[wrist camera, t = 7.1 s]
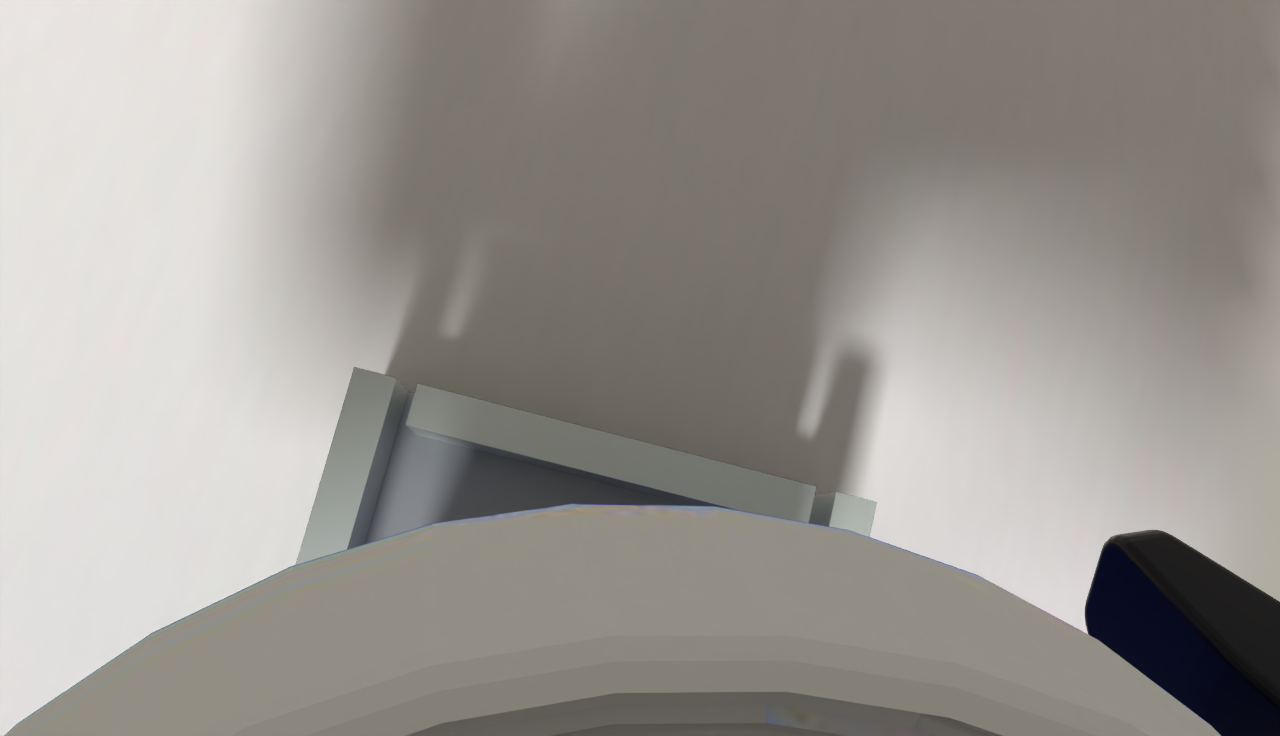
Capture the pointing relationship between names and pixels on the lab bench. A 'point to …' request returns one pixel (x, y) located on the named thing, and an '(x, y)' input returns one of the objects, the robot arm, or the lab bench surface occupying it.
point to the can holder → (516, 470)
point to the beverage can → (619, 642)
